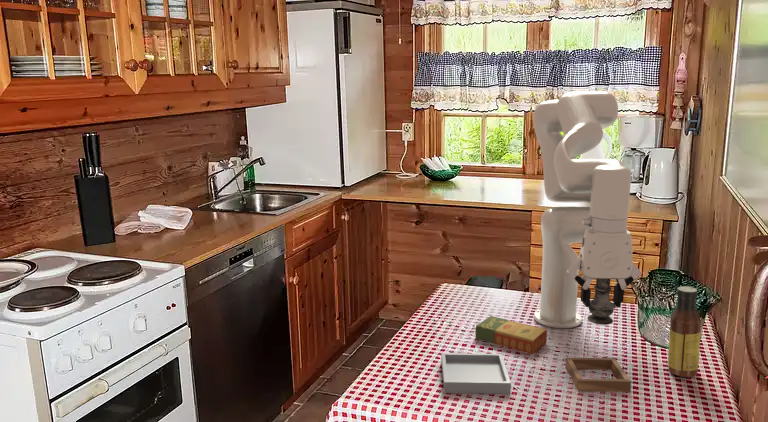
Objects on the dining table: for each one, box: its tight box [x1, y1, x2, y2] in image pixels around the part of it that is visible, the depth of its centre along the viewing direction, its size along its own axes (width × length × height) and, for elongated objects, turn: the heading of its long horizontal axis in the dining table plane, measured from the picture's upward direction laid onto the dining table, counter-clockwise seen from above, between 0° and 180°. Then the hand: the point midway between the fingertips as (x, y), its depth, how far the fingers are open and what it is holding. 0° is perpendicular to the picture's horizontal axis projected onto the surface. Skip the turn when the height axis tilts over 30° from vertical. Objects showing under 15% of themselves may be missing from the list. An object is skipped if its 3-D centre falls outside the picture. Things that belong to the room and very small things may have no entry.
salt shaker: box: [587, 279, 617, 326], centre depth 134 cm, size 6×6×12 cm
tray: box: [440, 352, 512, 395], centre depth 139 cm, size 14×14×2 cm
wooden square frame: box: [565, 357, 632, 393], centre depth 138 cm, size 11×11×2 cm
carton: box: [474, 315, 548, 355], centre depth 158 cm, size 8×16×4 cm, turn 53°
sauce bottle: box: [667, 285, 702, 378], centre depth 139 cm, size 6×6×20 cm
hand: (601, 304), depth 135 cm, fingers closed on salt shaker, 5 cm apart
